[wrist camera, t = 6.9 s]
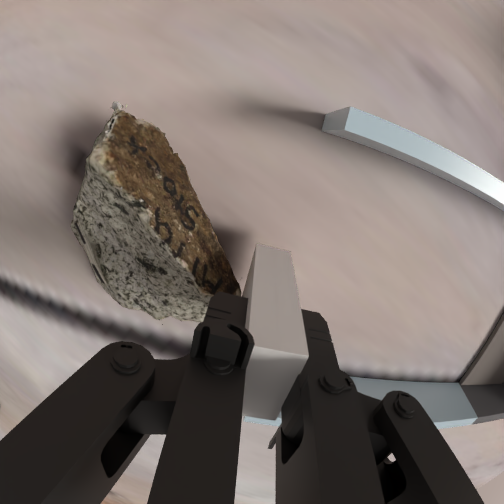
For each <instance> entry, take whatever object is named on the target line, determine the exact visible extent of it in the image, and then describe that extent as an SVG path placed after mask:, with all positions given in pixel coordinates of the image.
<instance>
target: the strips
mask: <svg viewBox="0 0 504 504" xmlns="http://www.w3.org/2000/svg"><path fill="white" fill-rule="evenodd" d="M321 131H323V132H326V133H330V134H333V135H336V136H339V137H342V138H345V139H348V140H351V141H353V142H356V143H359V144H362V145H365V146H367V147H370V148H373V149H375V150H378V151H381V152H383V153H386V154H388V155H391V156H393V157H396V158H398V159H400V160H403V161H405V162H408V163H410V164H412V165H415V166H417V167H419V168H421V169H424V170H426V171H428V172H430V173H432V174H434V175H437V176H439V177H441V178H443V179H445V180H447V181H449V182H451V183H453V184H455V185H457V186H459V187H461V188H463V189H465V190H467V191H469V192H471V193H472V194H474V195H476V196H478V197H480V198H482V199H483V200H485V201H487V202H489V203H490V204H492V205H494V206H496V207H497V208H499V209H501V210H502V211H504V183H503V182H501V181H500V180H498V179H497V178H495V177H494V176H492V175H491V174H489V173H488V172H486V171H484V170H483V169H481V168H479V167H478V166H476V165H474V164H473V163H471V162H469V161H468V160H466V159H464V158H462V157H461V156H459V155H457V154H455V153H453V152H452V151H450V150H448V149H446V148H444V147H442V146H440V145H438V144H436V143H434V142H432V141H430V140H428V139H426V138H424V137H422V136H420V135H418V134H416V133H414V132H412V131H409V130H407V129H405V128H403V127H401V126H398V125H396V124H394V123H391V122H389V121H387V120H384V119H382V118H379V117H377V116H374V115H372V114H369V113H367V112H364V111H361V110H359V109H356V108H353V107H347V108H344V109H341V110H337V111H334V112H331V113H328V114H326V116H325V119H324V123H323V127H322V130H321ZM349 377H350V378H351V379H352V380H353V382H354V384H355V386H356V388H357V391H358V392H360V393H362V394H364V395H367V396H370V397H373V398H376V399H379V400H382V399H383V398H384V397H385V395H386V394H387V393H388V392H391V391H403V392H406V393H408V394H410V395H412V396H413V397H415V398H416V399H417V400H418V402H419V403H420V404H421V405H422V407H423V408H424V410H425V411H426V413H427V414H428V415H429V417H430V418H431V420H432V421H433V423H434V424H435V426H436V427H437V429H442V428H451V427H458V426H465V425H472V423H473V422H474V421H475V420H476V419H477V418H478V417H477V415H476V413H475V411H474V409H473V408H472V406H471V404H470V402H469V400H468V399H467V397H466V395H465V393H464V392H463V390H462V388H461V386H460V385H459V383H438V382H412V381H395V380H382V379H371V378H361V377H351V376H349ZM243 421H246V422H252V423H258V424H265V425H272V426H280V425H281V423H282V421H281V412H280V413H279V415H278V417H277V419H276V421H273V420H267V419H260V418H254V417H248V416H244V420H243Z"/></svg>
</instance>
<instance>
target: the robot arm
mask: <svg viewBox="0 0 504 504" xmlns="http://www.w3.org/2000/svg"><path fill="white" fill-rule="evenodd" d="M329 333H330V332H329V328H328V325H327V322H326V321H325V320H324V318H323V317H322V316H321V315H320V313H317V312H312V311H308V310H303V309H301V306H300V300H299V294H298V289H297V283H296V278H295V272H294V267H293V262H292V257H291V251H287V250H283V249H279V248H275V247H271V246H267V245H263V244H259V243H257V244H256V247H255V251H254V255H253V258H252V262H251V266H250V269H249V273H248V277H247V280H246V284H245V288H244V292H243V295H242V297H241V296H237V295H232V294H228V293H224V292H220V291H219V292H218V293H216V294H215V295H214V296H212V297H211V298H210V302H209V305H208V308H207V311H206V314H205V317H204V320H203V322H201V323H199V324H198V326H197V327H196V329H195V330H194V336H193V341H192V347H191V353H190V354H188V355H186V356H184V357H182V358H178V359H172V360H160V359H154V358H153V356H152V355H151V353H150V351H148V350H147V349H145V348H144V347H143V346H141V345H138V344H135V343H133V342H123V341H120V342H115V343H111V344H109V345H107V346H106V347H104V348H102V349H101V350H100V351H99V352H98V353H97V354H96V355H94V356H93V357H92V358H91V359H90V360H89V361H88V362H86V363H85V364H84V365H83V366H82V367H81V368H80V369H79V370H77V371H76V372H75V373H74V374H73V375H72V376H71V377H69V378H68V379H67V380H66V381H65V382H64V383H63V384H62V385H61V386H59V387H58V388H57V389H56V390H55V391H54V392H53V393H52V394H51V395H49V396H48V397H47V398H46V399H45V400H44V401H43V402H42V403H41V404H39V405H38V406H37V407H36V408H35V409H34V410H33V411H32V412H31V413H30V414H29V415H27V416H26V417H25V418H24V419H23V420H22V421H21V422H20V423H19V424H18V425H17V426H16V427H15V428H13V429H12V430H11V431H10V432H9V433H8V434H7V435H6V436H5V437H4V438H3V439H2V440H1V441H0V504H101V502H102V501H103V500H104V498H105V497H106V495H107V494H108V493H109V491H110V490H111V489H112V487H113V486H114V485H115V483H116V482H117V481H118V479H119V478H120V476H121V475H122V474H123V472H124V471H125V470H126V468H127V467H128V465H129V464H130V463H131V461H132V460H133V459H134V457H135V456H136V454H137V453H138V452H139V450H140V449H141V447H142V446H143V445H144V443H145V442H146V440H147V439H148V438H149V436H150V435H151V434H166V438H165V441H164V445H163V448H162V452H161V455H160V459H159V462H158V466H157V469H156V473H155V476H154V480H153V484H152V487H151V491H150V495H149V499H148V502H147V504H234V498H235V487H236V476H237V465H238V454H239V443H240V432H241V420H242V416H248V417H254V418H260V419H267V420H273V421H276V419H277V417H278V415H279V413H280V412H281V421H282V423H281V425H280V426H279V428H278V430H277V431H276V433H275V435H274V436H273V438H272V440H271V441H270V443H269V447H268V449H272V448H273V446H274V445H275V443H276V504H484V502H483V501H482V499H481V497H480V496H479V494H478V492H477V490H476V489H475V487H474V485H473V484H472V482H471V480H470V479H469V477H468V476H467V474H466V472H465V471H464V469H463V468H462V466H461V464H460V463H459V461H458V460H457V458H456V456H455V455H454V453H453V452H452V450H451V449H450V447H449V446H448V444H447V443H446V441H445V439H444V438H443V436H442V435H441V433H440V432H439V430H438V429H437V427H436V426H435V424H434V423H433V421H432V420H431V418H430V417H429V415H428V414H427V413H426V411H425V410H424V408H423V407H422V405H421V404H420V403H419V402H418V400H417V399H416V398H415V397H413V396H412V395H410V394H408V393H406V392H403V391H391V392H388V393H387V394H386V395H385V397H384V398H383V399H382V400H379V399H376V398H373V397H370V396H367V395H364V394H362V393H360V392H358V391H357V388H356V386H355V384H354V382H353V380H352V379H351V378H350V377H349V376H348V375H347V374H346V373H345V372H343V371H341V370H340V369H339V365H338V362H337V358H336V354H335V350H334V347H333V343H332V342H331V341H332V339H331V336H330V334H329ZM391 453H393V455H394V457H395V459H396V460H395V461H394V462H391V461H390V460H389V459H388V458H387V457H388V456H389V455H390V454H391Z"/></svg>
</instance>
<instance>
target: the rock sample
mask: <svg viewBox="0 0 504 504" xmlns="http://www.w3.org/2000/svg"><path fill="white" fill-rule="evenodd" d="M121 106H122V108H123V107H124V106H123V105H122V104H121V103H119V102H113V105H112V108H113V109H114V113H113V115H112V117H111V118H110V120H109V121H108V122H107V124H106V125H105V128H104V130H103V132H102V133H101V134H100V135H99V136H98V137H97V139H96V140H95V143H94V146H93V149H92V152H91V154H90V155H89V156H88V157H87V159H86V164H85V176H84V179H83V182H82V185H81V188H80V191H79V194H78V198H77V201H76V204H75V206H74V210H73V213H74V215H73V220H72V222H71V229H72V231H73V232H74V234H75V236H76V237H77V239H78V241H79V243H80V245H81V246H82V247H83V248H84V250H85V251H86V253H87V255H88V258H89V260H90V264H91V266H92V268H93V270H94V272H95V276H96V279H97V282H98V283H99V284H100V285H101V286H102V287H103V288H104V289H105V291H106V292H107V293H108V294H110V295H111V297H112V298H113V299H114V300H115V301H117V302H118V303H119V304H120V305H121V306H122V307H125V308H128V309H135V310H143V311H145V312H147V313H148V314H150V315H151V316H153V317H154V318H155V319H158V320H160V319H164V318H166V317H169V316H172V317H174V318H176V319H178V320H180V321H196V322H203V320H204V317H205V314H206V311H207V308H208V305H209V302H210V298H211V297H212V296H214V295H215V294H216V293H218V292H219V291H220V292H224V293H228V294H232V295H237V296H241V289H240V286H239V283H238V282H237V280H236V278H235V276H234V274H233V271H232V268H231V266H230V264H229V262H228V260H227V258H226V255H225V253H224V250H223V248H222V247H221V245H220V244H219V243H218V239H217V235H216V234H215V233H214V231H213V228H212V226H211V223H210V220H209V218H208V217H207V215H206V214H205V212H204V211H203V209H202V206H201V204H200V202H199V200H198V197H197V195H196V193H195V191H194V190H193V188H192V186H191V183H190V178H189V177H188V174H187V170H186V167H185V165H184V164H183V163H182V161H181V160H180V158H179V157H178V153H174V154H173V150H172V148H171V147H170V146H169V143H168V141H167V139H166V137H165V133H163V132H161V131H160V129H159V128H158V127H157V128H156V127H155V126H154V125H153V124H152V123H148V122H146V121H145V120H144V119H136V118H135V117H134V116H132V115H130V114H129V113H126V112H125V111H122V110H120V109H121ZM126 107H127V104H126ZM162 325H163V324H162Z"/></svg>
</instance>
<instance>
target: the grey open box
mask: <svg viewBox="0 0 504 504" xmlns="http://www.w3.org/2000/svg"><path fill="white" fill-rule="evenodd" d="M459 385H460V386H461V388H462V390H463V392H464V393H465V395H466V397H467V399H468V400H469V402H470V404H471V406H472V408H473V409H474V411H475V413H476V415H477V417H478V418H477V419H476V420H475V421H474V422H473V423H472V424H478V423H483V422H489V421H494V420H499V419H503V418H504V313H503V315H502V317H501V318H500V320H499V322H498V324H497V325H496V327H495V329H494V331H493V332H492V334H491V336H490V337H489V339H488V340H487V342H486V344H485V345H484V347H483V348H482V350H481V351H480V353H479V354H478V356H477V357H476V359H475V360H474V362H473V363H472V365H471V366H470V368H469V369H468V370H467V372H466V373H465V375H464V376H463V377H462V379H461V380H460V381H459Z"/></svg>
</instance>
